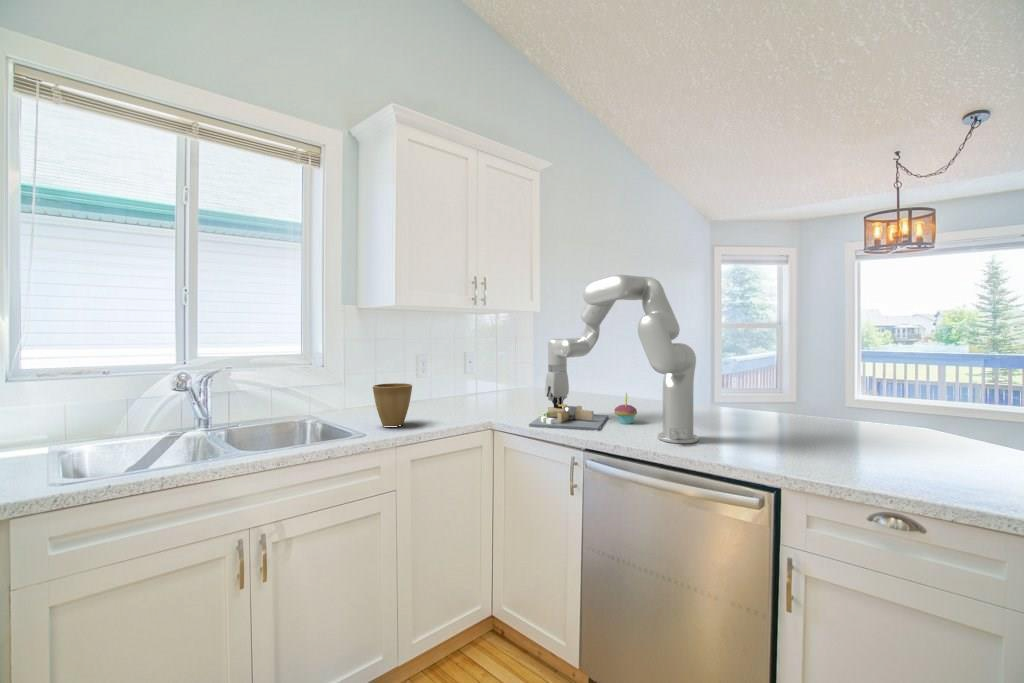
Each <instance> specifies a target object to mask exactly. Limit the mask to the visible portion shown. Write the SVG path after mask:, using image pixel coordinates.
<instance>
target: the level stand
mask: <svg viewBox="0 0 1024 683" xmlns="http://www.w3.org/2000/svg"><path fill="white" fill-rule="evenodd" d="M608 417H609V415H608V414H594V413H593V420H582V419H575V420H566V421H563V422H557V417H553V416H548V410H547V411H543V412H541V413H539V414H538V417H537V418H536V419H534V420H532V422H530V423H529V424H528V427H529V428H530V427H531V428H544V427H548V428H547V429H561V430H563V429H564V430H565V429H567V430H578V429H579V431H580V430H581V431H582V430H583V431H594V430H598V431H600V430H601V428H602V426H603V425H604V423H605V422H606V420H608ZM600 427H601V428H600Z"/></svg>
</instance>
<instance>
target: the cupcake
mask: <svg viewBox="0 0 1024 683" xmlns="http://www.w3.org/2000/svg"><path fill="white" fill-rule="evenodd" d="M624 398H625V402H624V404H620V405H618V406H615V408H614V414H615V415H616V416H617V418H618V421H619V423H620V424H622V425H631V423H632V424H633V422H634V418H635V417H636V415H637V414H638V411H637V408H635V406H633V405H631V404H628V392H626V393H625V397H624Z"/></svg>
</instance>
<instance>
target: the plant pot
mask: <svg viewBox="0 0 1024 683" xmlns="http://www.w3.org/2000/svg"><path fill="white" fill-rule="evenodd" d="M372 391H373V397H374V398H373V399H374V401H375V402H374V403H375V406H376V411H377V414H378V417H379V420H380V423H381V424H382V427H383V426H399V425H402V424H403V425H404V423H405V420H406V417H407V414H408V410H409V406H410V403H411V397H412V391H413V384H412V383H403V382H402V383H400V382H398V383H396V382H395V383H381V384H380V383H379V384H373V385H372Z"/></svg>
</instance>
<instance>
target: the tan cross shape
mask: <svg viewBox="0 0 1024 683" xmlns="http://www.w3.org/2000/svg"><path fill="white" fill-rule="evenodd" d="M558 406H562V408H554V406H553V407H552V406H548V407H547V411H548V416H553V417H557V422H563V421H566V420H575V419H582V420H593V414H594V410H586V409H583V406H582V405H568V404H564V403H563V404H558Z"/></svg>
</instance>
